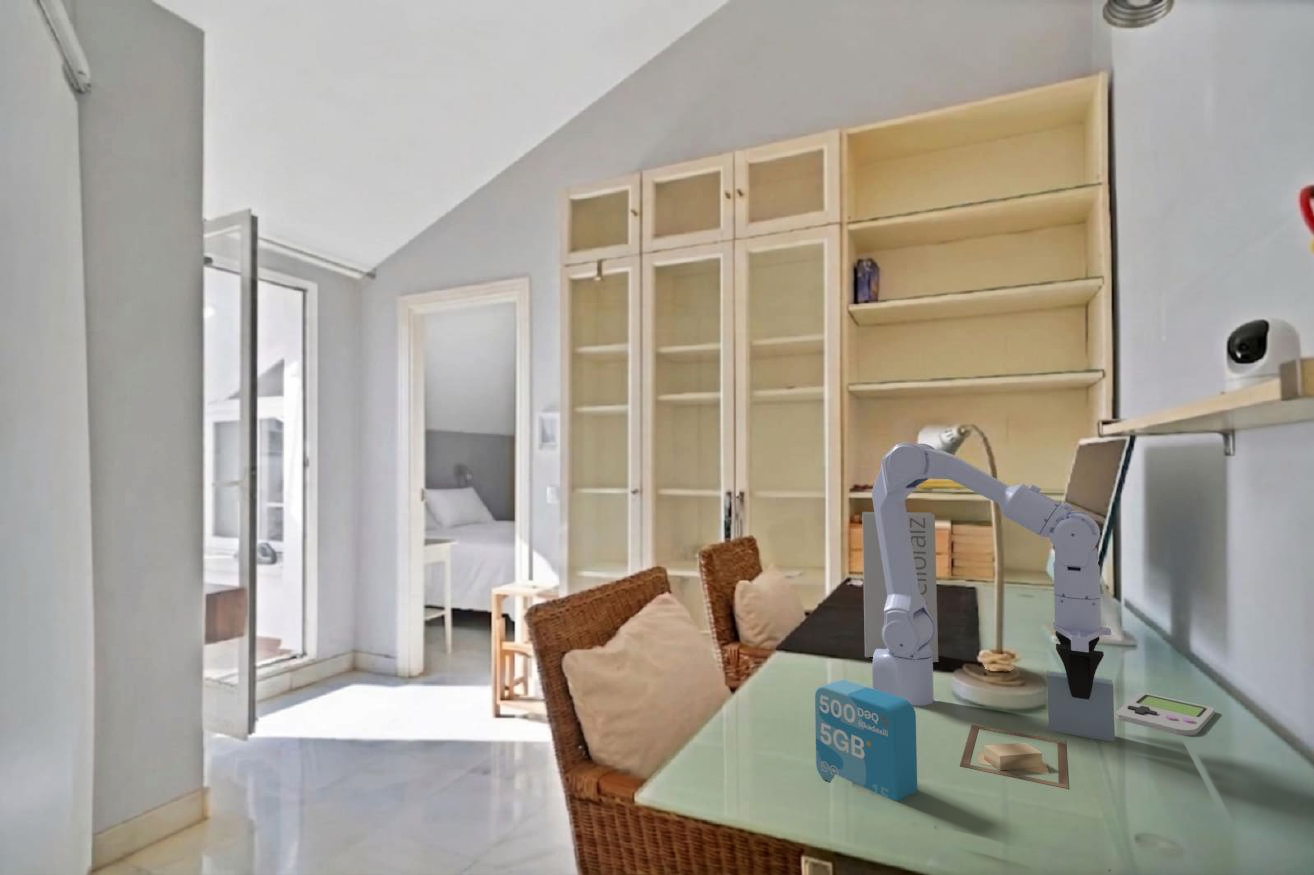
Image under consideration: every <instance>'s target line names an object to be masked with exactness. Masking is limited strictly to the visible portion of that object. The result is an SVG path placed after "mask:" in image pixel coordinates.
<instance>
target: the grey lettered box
mask: <svg viewBox="0 0 1314 875" xmlns="http://www.w3.org/2000/svg"><path fill="white" fill-rule="evenodd" d="M861 515H862V518H861V519H862V520H861V521H862V568H863V570H862V571H863V574H862V575H863V612H864V613H863V616H864V617H863V618H864V619H863V620H864V622H863V623H864V628H863V629H864V657H865V658H869V657H873V655H874V652H875V650H876V649H887V647H886V645H885V644H884V642H883V639H882V628H883V625H884V621H885V617H884V607H885V604H886V600H887V596H888V595H887V589H886V582H885V576H884V570H883V563H882V557H881V550H880V544H879V538H878V531H877V525H876V519H875V512H874V511H862V513H861ZM907 518H908V524H909V530H910V536H911V543H912V549H913V555H914V561H915V567H916V573H917V579H918V586H919V592H920V594H921V595H922V597H923V598H924V600H925V602H926V607H927V610H928V612H929V614H930V615H931V617H932V618H933V620H934V622H935V627H936V632H935V635H934V637H933V639H932V640H931V641H930V642H929V645H930V648H931V649H932V652H933V654H932V655H933V663H935V662H938V663H939V644H938V643H939V638H938V637H939V636H938V635H939V634H938V601H937V600H938V599H937V598H938V597H937V594H938V592H937V590H938V589H937V560H936V559H937V556H936V554H937V553H936V514H933V513H932V512H907Z"/></svg>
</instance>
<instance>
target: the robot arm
mask: <svg viewBox="0 0 1314 875" xmlns="http://www.w3.org/2000/svg"><path fill="white" fill-rule="evenodd" d="M930 479H931V480H934V479H935V480H936V479H937V480H938V479H939V480H951V481H953V482H954V483H956V484H959V485H960V486H962V487H964V488H966V489H969V490H970V491H973V492H975V493H977V494H979V495H980V496H982V497H984V498H987V499H989V500H991V501H993V502H994V503H997V504H998V506H999V509H1000V512H1001V515H1002V516H1003V517H1005V519H1009V520H1010V521H1012V522H1014V523H1016V524H1017V525H1020V526H1021V527H1023V528H1025V529H1027V530H1029V531H1030V532H1032V533H1034V534H1036V535H1038V536H1039V537H1041V538H1049V540H1050V542H1051V544H1052V545H1053V546H1052V547H1054V561H1053V590H1054V591H1053V593H1054V594H1053V596H1054V598H1053V603H1054V606H1053V607H1054V622H1053V624H1052V625H1053V627H1052V628H1053V630H1055V636H1056V638H1057V640H1058V642H1059V643H1055V651H1056V652H1057V654H1058V656H1059V658H1060V659H1061V662H1062V663H1063V666H1064V670H1065V674H1066V675H1067V680H1068V685H1069V689H1070V693H1071V696H1072V697H1074V698H1080V699H1087V700H1089V698H1090V695H1091V691H1092V686H1093V680H1094V677H1095V675H1096V672H1097V669H1098V667H1099V664H1100V663H1101V661H1102V660H1103V659H1104V651H1102V650H1095V648H1096V646H1097V645H1098V642H1099V641H1100V637H1101V636H1111V635H1112V629H1111V628H1110V627H1105V626H1102V614H1101V613H1102V609H1101V607H1102V606H1101V571H1100V569H1101V568H1100V565H1099V563H1098V561H1099V558H1100V557H1099V555H1100V554H1099V552H1098V548H1097V547H1096V546H1097V545H1098V542H1099V539H1100V536H1101V530H1100V526H1099V525H1098V523H1097V522H1096V520H1095V519H1093V518H1092V517H1091V516H1090V515H1088V513H1086V512H1084V511H1079V510H1072V509H1073V508H1074V506H1073V505H1072V504H1070V503H1067V502H1065V503H1064V504H1062V503H1061V502H1059V501H1057V500H1055V499H1053V498H1052V497H1050V496H1047V495H1045V494H1043V493H1042V492H1041V488H1040V487H1039V486H1036V485H1035V484H1031V485H1030V486H1027V485H1026V484H1024V483H1020V484H1016V485H1012V486H1011V485H1010V486H1009V485H1008V484H1006V483H1005V482H1002V481H1001V480H999V479H997V478H996V477H993V476H992V475H990V474H988V473H987V472H985V471H983V470H981V469H979V468H978V467H976V466H974V465H972V464H971V463H969V462H967V461H965V460H963V459H962V458H960V457H958V456H956V455H954V454H952V453H949V452H947V451H945V450H943V449H942V450H941V449H937V448H936V449H935V447H933V446H931V445H930V444H926V443H911V442H901V443H898V444H895V445H894V446H893V447H891V449H890V450H889V451H888V452H887V453H886V454H885V455H884V456H883V457H882V458H881V466H880V470H879V472H878V474H877V477H876V479H875V481H874V485H873V488H872V490H871V498H872V503H873V504H872V505H873V510H874V511H873V512H875V519H876V525H877V531H878V538H879V544H880V550H881V557H882V563H883V570H884V576H885V582H886V589H887V595H888V596H887V600H886V604H885V607H884V617H885V621H884V625H883V628H882V639H883V642H884V644H885V645H886V647H887V649H876V650H875V652H874V655H873V658H872V665H871V666H872V667H871V670H872V673H871V674H872V689H875V690H878V691H881V692H884V693H888V694H891V695H894V696H897V697H900V698H903V699H906V700H907V701H909V702H910V703H911V705H912V706H913V707H914V706H915V707H917V706H918V707H922V706H928V705H932V704H933V703H934V702H940V700H939V699H937V698H935V696H934V664H933V663H934V662H933V655H932V654H933V652H932V649H931V648H930V645H929V642H930V641H931V640H932V639H933V637H934V635H935V632H936V627H935V622H934V620H933V618H932V617H931V615H930V614H929V612H928V610H927V607H926V602H925V600H924V598H923V597H922V595H921V594H920V592H919V586H918V579H917V573H916V567H915V561H914V555H913V549H912V543H911V536H910V530H909V524H908V518H907V513H908V511H907V507H906V499H907V498H908V497H909V496H910V495H911V494H912V493H913V492H914V490H915V489H916V488H917V487H918V486H920V485H922V483H924V482H926V481H928V480H930Z"/></svg>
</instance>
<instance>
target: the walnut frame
mask: <svg viewBox="0 0 1314 875" xmlns="http://www.w3.org/2000/svg"><path fill="white" fill-rule="evenodd" d="M979 730H983V731H989V732H995V733H1001V734H1006V735H1012V736H1017V737H1021V738H1027V739H1034V740H1039V741H1044V742H1049V743H1054V744H1055V743H1056V744H1057V771H1058V772H1057V774H1058V775H1057V776H1058V782H1056V781H1055V782H1054V781H1052V780H1046V779H1042V778H1036V777H1031V776H1027V775H1022V774H1016V773H1012V772H1007V771H1004V770H999V769H993V768H988V767H983V766H978V765H973V764H970V763H971V758H972V755H973V751H974V747H975V743H976V739H977V736H978V732H979ZM1067 758H1068V757H1067V741H1066V740H1060V739H1055V738H1049V737H1043V736H1037V735H1032V734H1027V733H1022V732H1017V731H1009V730H1004V729H999V728H998V729H997V728H993V727H986V726H981V725H976V724H971V726H970V729H969V733H968V736H967V740H966V744H965V746H964V749H963V752H962V757H961V760H960V764H959V767H962V768H965V769H969V770H975V771H980V772H985V773H990V774H994V775H999V776H1004V777H1008V778H1014V779H1017V780H1018V779H1019V780H1024V781H1027V782H1033V783H1038V784H1042V785H1046V786H1051V787H1057V788H1059V789H1066V790H1069V773H1068V772H1069V771H1068V759H1067Z"/></svg>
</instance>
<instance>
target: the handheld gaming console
mask: <svg viewBox="0 0 1314 875" xmlns="http://www.w3.org/2000/svg"><path fill="white" fill-rule="evenodd" d="M1214 716H1215V708H1214V707H1212V706H1207V705H1202V704H1198V703H1193V702H1191V701H1189V702H1188V701H1185V700H1180V699H1175V698H1170V697H1167V696H1166V697H1165V696H1161V695H1157V694H1153V693H1148V692H1139V693H1138V694H1136V695H1135V696H1134V697H1133V698H1131V700H1129V701H1128V702H1127V703H1124V705H1122V706H1121V707H1120V708H1119V709H1117V710H1116V711H1115V719H1117V720H1119V721H1123V722H1127V723H1131V724H1134V725H1138V726H1143V727H1146V728H1149V729H1150V728H1151V729H1155V730H1158V731H1162V732H1166V733H1171V734H1175V735H1178V736H1179V735H1181V736H1195V735H1197V734H1199V732H1201V730H1202V729H1203V728H1204V727H1205V726H1206V725H1207V723H1208V722H1210V720H1211V719H1212V718H1213V717H1214Z"/></svg>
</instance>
